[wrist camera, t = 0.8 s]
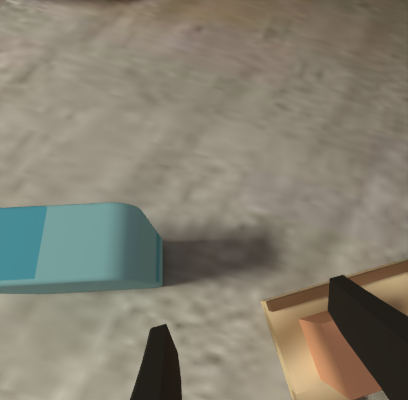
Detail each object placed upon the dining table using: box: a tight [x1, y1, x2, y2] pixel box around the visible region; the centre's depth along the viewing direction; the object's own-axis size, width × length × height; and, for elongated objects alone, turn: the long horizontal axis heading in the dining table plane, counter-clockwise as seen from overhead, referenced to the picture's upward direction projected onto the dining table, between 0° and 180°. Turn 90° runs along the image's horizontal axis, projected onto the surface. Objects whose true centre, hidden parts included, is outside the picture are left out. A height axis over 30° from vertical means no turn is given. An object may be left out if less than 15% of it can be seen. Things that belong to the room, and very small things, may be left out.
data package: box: [0, 203, 163, 294], centre depth 20 cm, size 12×4×12 cm, turn 93°
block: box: [299, 310, 382, 400], centre depth 19 cm, size 4×4×4 cm
